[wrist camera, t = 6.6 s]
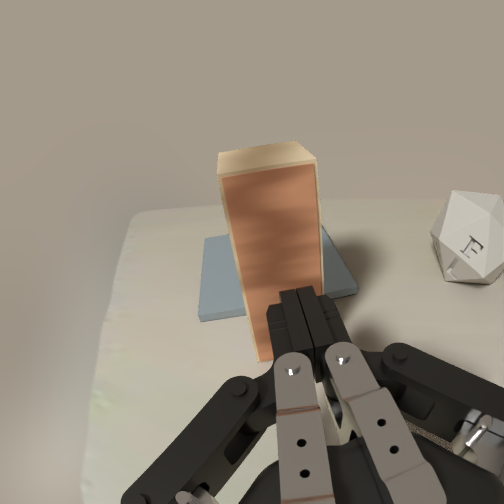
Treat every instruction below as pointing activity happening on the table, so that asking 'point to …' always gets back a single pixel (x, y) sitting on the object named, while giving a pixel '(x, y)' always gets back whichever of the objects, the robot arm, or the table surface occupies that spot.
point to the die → (470, 237)
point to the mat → (228, 287)
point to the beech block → (272, 227)
